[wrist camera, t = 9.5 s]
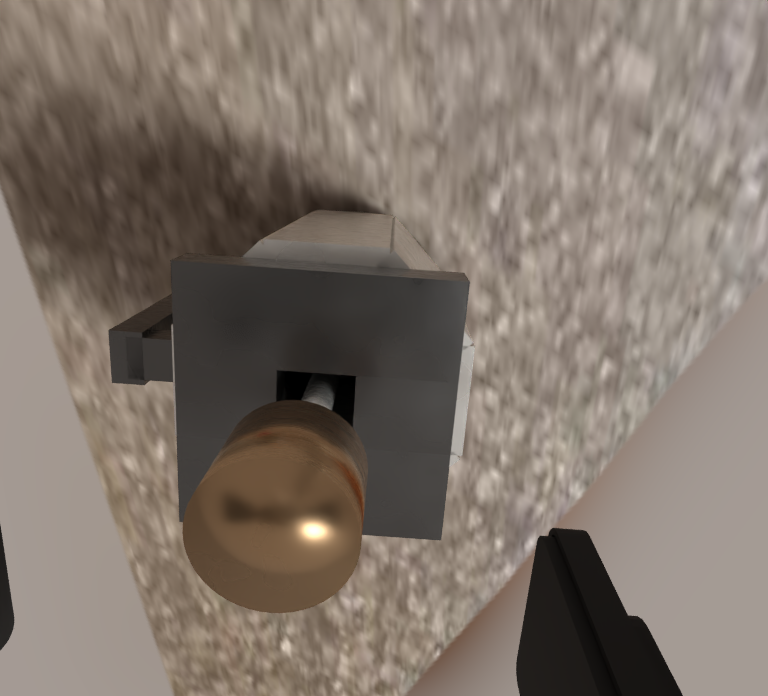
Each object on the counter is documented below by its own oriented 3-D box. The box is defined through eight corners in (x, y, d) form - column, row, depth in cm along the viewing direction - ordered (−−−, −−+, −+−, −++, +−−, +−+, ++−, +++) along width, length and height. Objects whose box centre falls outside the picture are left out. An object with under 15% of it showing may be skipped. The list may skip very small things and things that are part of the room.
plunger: (417, 252, 30) (451, 397, 11) (406, 378, 32) (421, 680, 13) (284, 242, 30) (96, 372, 11) (281, 369, 32) (117, 658, 13)
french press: (448, 217, 32) (493, 262, 17) (431, 390, 35) (457, 557, 20) (207, 200, 32) (43, 229, 17) (210, 374, 35) (71, 529, 20)
